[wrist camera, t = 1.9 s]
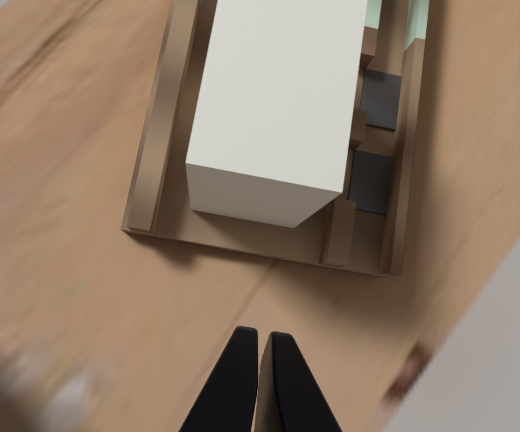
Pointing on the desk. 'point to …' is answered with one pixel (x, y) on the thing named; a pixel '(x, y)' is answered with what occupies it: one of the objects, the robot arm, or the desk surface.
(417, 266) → the desk surface
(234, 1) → the block
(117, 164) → the desk surface
